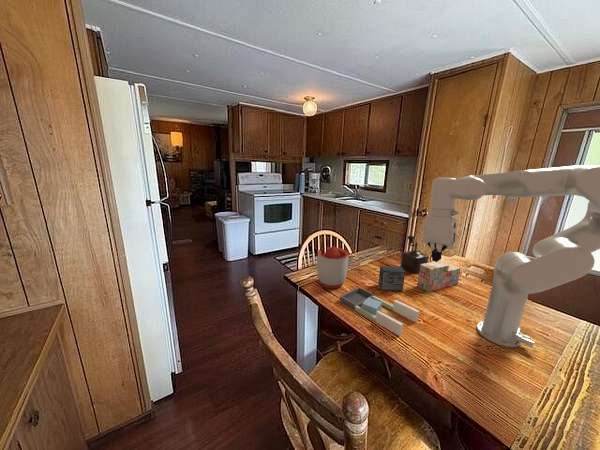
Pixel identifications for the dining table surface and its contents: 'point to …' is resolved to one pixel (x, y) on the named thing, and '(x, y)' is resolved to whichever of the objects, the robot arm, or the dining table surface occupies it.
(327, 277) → the citrus juicer
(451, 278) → the stack of blocks
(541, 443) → the dining table surface
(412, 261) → the black upright piece
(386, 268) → the small box
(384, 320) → the two-pronged grey tray
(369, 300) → the block
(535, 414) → the dining table surface
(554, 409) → the dining table surface
